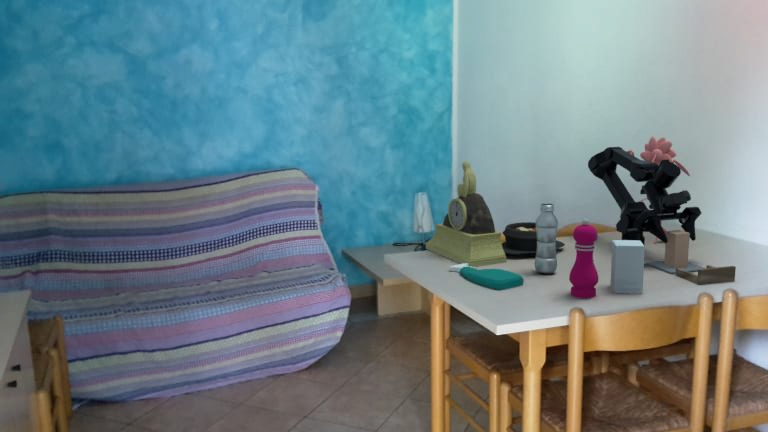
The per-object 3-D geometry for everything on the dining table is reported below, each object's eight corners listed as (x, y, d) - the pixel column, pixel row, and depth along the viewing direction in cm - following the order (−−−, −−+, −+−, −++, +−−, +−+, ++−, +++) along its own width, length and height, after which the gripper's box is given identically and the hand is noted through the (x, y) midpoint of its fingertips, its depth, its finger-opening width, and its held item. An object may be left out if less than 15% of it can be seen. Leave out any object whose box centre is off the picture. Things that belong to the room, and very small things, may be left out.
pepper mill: (564, 291, 184) (566, 216, 181) (591, 290, 185) (594, 215, 181) (574, 299, 177) (576, 221, 174) (602, 298, 178) (605, 220, 174)
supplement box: (643, 294, 181) (645, 246, 178) (612, 293, 182) (614, 245, 180) (638, 286, 188) (641, 239, 185) (609, 285, 189) (611, 239, 187)
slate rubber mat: (645, 264, 210) (645, 262, 210) (680, 260, 213) (680, 259, 213) (671, 274, 198) (671, 272, 198) (707, 270, 201) (707, 268, 201)
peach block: (664, 264, 207) (666, 231, 205) (677, 263, 208) (679, 229, 206) (674, 268, 203) (676, 234, 201) (687, 266, 204) (689, 233, 202)
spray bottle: (497, 292, 186) (441, 274, 206) (527, 285, 192) (470, 268, 212) (497, 281, 185) (441, 264, 206) (527, 275, 191) (470, 258, 212)
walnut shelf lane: (675, 275, 197) (676, 261, 196) (709, 271, 200) (710, 258, 199) (699, 284, 188) (700, 270, 187) (734, 281, 190) (735, 266, 190)
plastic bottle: (558, 270, 205) (560, 202, 201) (555, 276, 198) (557, 206, 195) (535, 269, 207) (537, 201, 203) (532, 275, 200) (534, 205, 197)
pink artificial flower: (676, 248, 228) (683, 139, 222) (609, 235, 248) (614, 136, 242) (702, 242, 237) (710, 137, 231) (635, 230, 257) (640, 134, 251)
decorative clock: (425, 249, 235) (424, 159, 229) (459, 244, 240) (458, 156, 235) (470, 268, 210) (470, 168, 204) (506, 262, 215) (507, 165, 210)
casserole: (518, 263, 214) (519, 236, 212) (480, 251, 230) (480, 226, 228) (578, 252, 226) (579, 226, 225) (537, 241, 242) (538, 217, 240)
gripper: (643, 183, 202) (666, 228, 194) (699, 179, 207) (723, 223, 198) (626, 205, 211) (647, 249, 203) (680, 201, 216) (702, 244, 207)
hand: (680, 241), depth 203 cm, fingers open, 9 cm apart
